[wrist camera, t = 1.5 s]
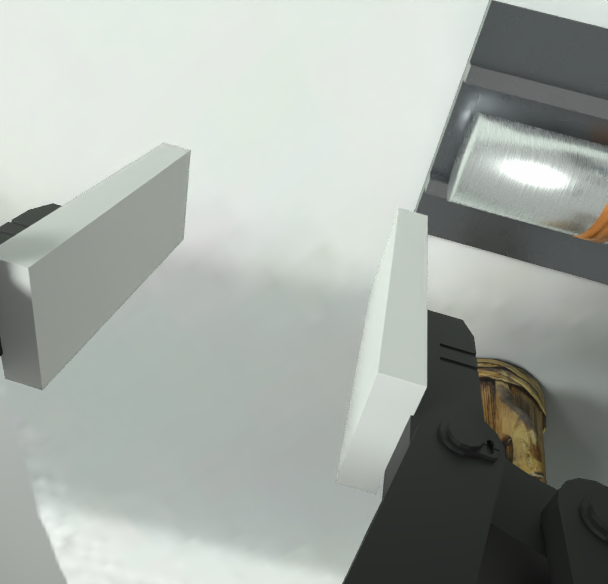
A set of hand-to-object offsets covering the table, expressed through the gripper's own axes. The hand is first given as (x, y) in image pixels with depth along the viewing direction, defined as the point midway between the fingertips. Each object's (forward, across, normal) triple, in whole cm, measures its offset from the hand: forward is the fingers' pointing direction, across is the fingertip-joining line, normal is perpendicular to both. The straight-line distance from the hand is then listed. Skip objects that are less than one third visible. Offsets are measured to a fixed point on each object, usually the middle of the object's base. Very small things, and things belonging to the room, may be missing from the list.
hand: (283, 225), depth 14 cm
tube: (+16, +13, 0) cm, 20 cm away
